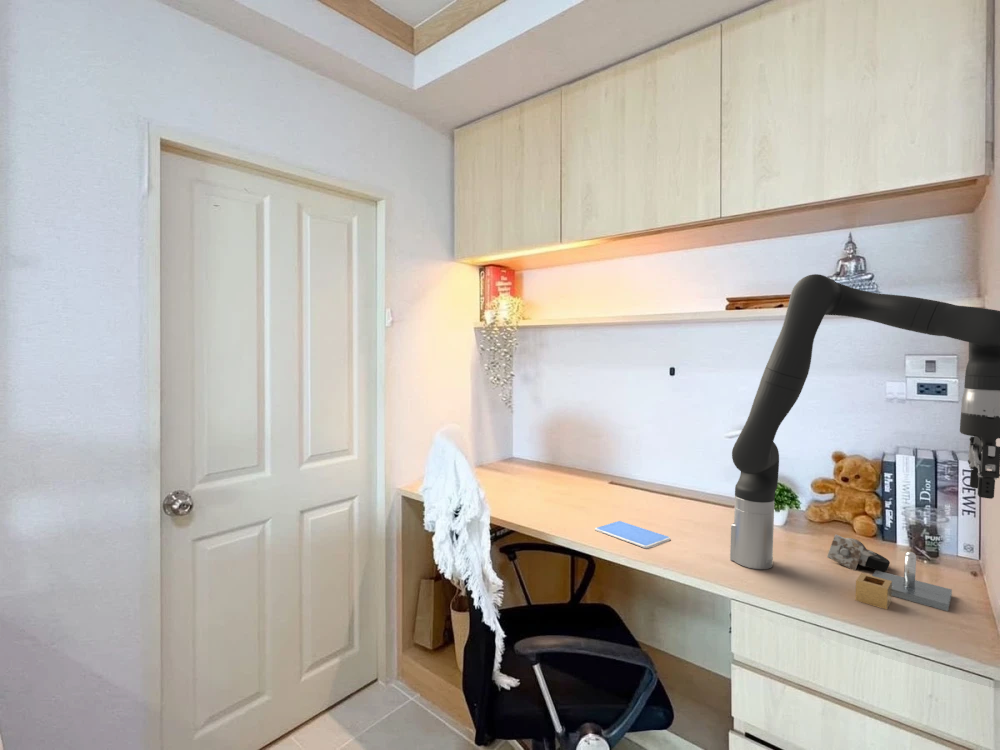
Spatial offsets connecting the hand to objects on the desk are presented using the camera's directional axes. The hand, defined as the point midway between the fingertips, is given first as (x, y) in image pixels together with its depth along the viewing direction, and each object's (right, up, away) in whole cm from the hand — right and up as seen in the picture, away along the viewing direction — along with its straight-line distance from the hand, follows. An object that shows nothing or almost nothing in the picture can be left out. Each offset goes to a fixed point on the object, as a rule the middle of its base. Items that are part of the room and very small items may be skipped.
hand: (981, 492), depth 99 cm
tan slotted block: (-13, -27, +11) cm, 32 cm away
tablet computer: (-56, -26, +51) cm, 80 cm away
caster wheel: (-2, -26, +30) cm, 40 cm away
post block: (-2, -27, +15) cm, 31 cm away
